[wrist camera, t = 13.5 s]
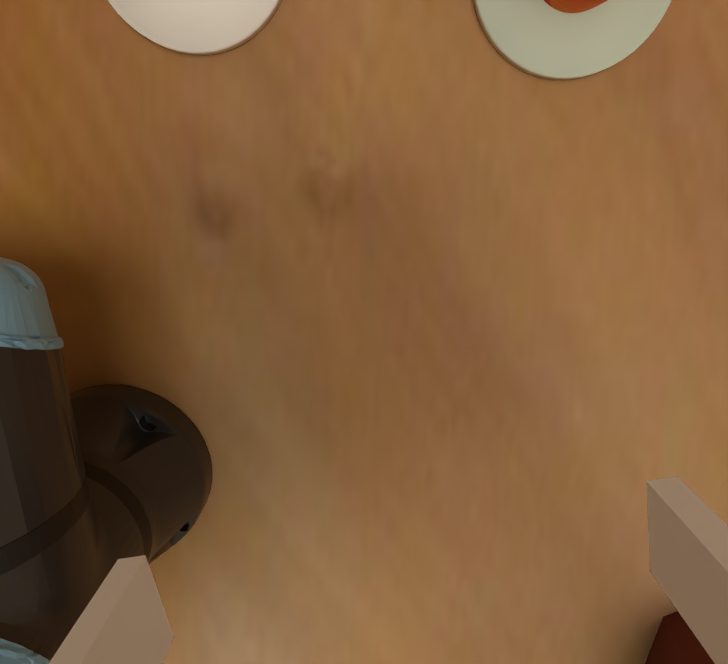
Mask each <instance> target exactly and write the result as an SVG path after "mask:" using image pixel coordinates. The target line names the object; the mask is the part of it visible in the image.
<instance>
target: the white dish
mask: <svg viewBox="0 0 728 664" xmlns="http://www.w3.org/2000/svg"><path fill="white" fill-rule="evenodd" d="M108 1H109V3H110V4H111V5H112V7H113V8H114V9H115V10H116V12H117V13H118V14H119V15H120V16H121V17H122V18H123V19H124V20H125V21H126V22H127V23H128V24H129V25H130V26H131V27H133V28H134V29H135V30H136V31H137V32H139V33H140V34H142V35H143V36H145V37H147V38H148V39H150V40H151V41H153V42H155V43H156V44H158V45H160V46H163V47H165V48H167V49H169V50H172V51H176V52H179V53H183V54H189V55H213V54H219V53H223V52H226V51H230V50H232V49H234V48H237V47H239V46H241V45H243V44H244V43H246V42H247V41H249V40H250V39H252V38H253V37H254V36H255V35H256V34H258V33H259V32H260V31H261V30H262V29H263V28H264V27H265V26H266V24H267V23H268V22H269V21H270V20H271V18H272V17H273V15H274V14H275V12H276V10H277V9H278V7H279V5H280V3H281V1H282V0H108Z"/></svg>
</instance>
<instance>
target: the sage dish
mask: <svg viewBox="0 0 728 664" xmlns="http://www.w3.org/2000/svg"><path fill="white" fill-rule="evenodd" d="M473 2H474V7H475V11H476V14H477V17H478V20H479V23H480V25H481V27H482V29H483V32H484V34H485V35H486V37H487V38H488V40H489V42H490V43H491V45H492V46H493V47H494V48H495V49H496V51H497V52H498V53H499V54H500V55H501V56H502V57H503V58H504V59H505V60H506V61H507V62H509V63H510V64H512V65H513V66H515V67H516V68H518V69H519V70H521V71H523V72H525V73H527V74H530V75H533V76H536V77H539V78H544V79H550V80H571V79H578V78H582V77H586V76H590V75H592V74H595V73H597V72H600V71H602V70H604V69H606V68H609V67H611V66H612V65H614V64H616V63H618V62H619V61H621V60H623V59H624V58H625V57H627V56H628V55H629V54H631V53H632V52H634V51H635V50H636V49H637V48H638V47H639V46H640V45H641V44H642V43H643V42H644V41H645V40H646V39H647V38H648V37H649V35H650V34H651V33H652V32H653V31H654V29H655V28H656V26H657V25H658V23H659V22H660V20H661V19H662V18H663V16H664V14H665V12H666V10H667V8H668V6H669V4H670V2H671V0H607V1H606V2H604V3H602V4H600V5H598V6H596V7H594V8H592V9H590V10H587V11H584V12H579V13H565V12H561V11H558V10H556V9H554V8H552V7H551V6H550V5H548V4H547V3H546V2H545V1H544V0H473Z"/></svg>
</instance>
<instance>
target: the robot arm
mask: <svg viewBox="0 0 728 664" xmlns="http://www.w3.org/2000/svg"><path fill="white" fill-rule="evenodd" d="M63 347H64V344H63V340H62V337H60V336H59V335H58V334H57V331H56V327H55V324H54V320H53V317H52V313H51V310H50V306H49V302H48V298H47V294H46V290H45V287H44V285H43V283H42V281H41V279H40V278H39V277H38V275H37V274H36V273H35V272H34V271H32V270H31V269H30V268H28V267H27V266H25V265H24V264H22V263H19V262H17V261H14V260H11V259H6V258H1V257H0V664H163V661H164V659H165V657H166V654H167V652H168V650H169V647H170V645H171V643H172V640H173V638H174V635H173V632H172V630H171V627H170V624H169V621H168V618H167V615H166V612H165V610H164V607H163V604H162V601H161V598H160V595H159V593H158V590H157V587H156V584H155V581H154V578H153V575H152V573H151V570H150V567H149V564H150V563H151V562H152V561H154V560H155V559H156V558H158V557H159V556H160V555H161V554H163V553H164V552H165V551H167V550H168V549H169V548H170V547H172V546H173V545H174V544H176V543H177V542H178V541H179V540H181V539H182V538H183V537H184V536H185V535H186V534H187V533H188V531H189V530H190V529H191V528H192V526H193V525H194V524H195V522H196V520H197V519H198V517H199V515H200V513H201V511H202V509H203V507H204V505H205V503H206V501H207V499H208V496H209V493H210V489H211V483H212V466H211V460H210V456H209V452H208V449H207V447H206V444H205V442H204V440H203V438H202V436H201V435H200V433H199V431H198V430H197V429H196V427H195V426H194V425H193V423H192V422H191V421H190V420H189V419H188V418H187V417H186V416H185V415H184V414H183V413H182V412H181V411H180V410H179V409H177V408H176V407H175V406H174V405H172V404H171V403H169V402H168V401H166V400H164V399H163V398H161V397H159V396H157V395H155V394H152V393H150V392H147V391H145V390H141V389H138V388H134V387H129V386H122V385H101V386H94V387H89V388H86V389H82V390H80V391H77V392H75V393H73V394H71V395H70V393H69V388H68V383H67V377H66V372H65V367H64V361H63V356H62V350H61V348H63ZM646 485H647V508H648V532H649V555H650V572H651V573H652V575H653V576H654V578H655V579H656V581H657V582H658V583H659V585H660V586H661V588H662V589H663V591H664V592H665V593H666V595H667V596H668V598H669V599H670V601H671V602H672V603H673V605H674V606H675V608H676V609H677V610H678V612H679V613H680V615H681V616H682V618H683V619H684V620H685V622H686V623H687V625H688V626H689V628H690V629H691V630H692V632H693V633H694V635H695V636H696V638H697V639H698V640H699V642H700V643H701V645H702V646H703V648H704V649H705V650H706V652H707V653H708V655H709V656H710V658H711V659H712V660H713V662H714V663H715V664H728V526H727V525H726V524H725V523H724V522H723V521H722V520H721V519H720V518H719V517H718V516H717V515H716V514H715V513H714V512H713V511H712V510H711V509H710V508H709V507H708V506H707V505H706V504H705V503H704V502H703V501H702V500H701V499H700V498H699V497H698V496H697V495H696V494H695V493H694V492H693V491H692V490H691V489H690V488H689V487H688V486H687V485H686V484H685V483H684V482H683V481H682V480H681V479H680V478H679V477H678V476H677V477H670V478H663V479H656V480H650V481H646Z"/></svg>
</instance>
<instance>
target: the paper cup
mask: <svg viewBox="0 0 728 664" xmlns="http://www.w3.org/2000/svg"><path fill="white" fill-rule="evenodd" d="M544 1H545V2H546V3H547V4H548V5H550V6H551V7H552V8H554V9H556V10H558V11H561V12H565V13H579V12H584V11H587V10H590V9H592V8H594V7H596V6H598V5H600V4H602V3H604V2H606V1H607V0H544Z"/></svg>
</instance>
